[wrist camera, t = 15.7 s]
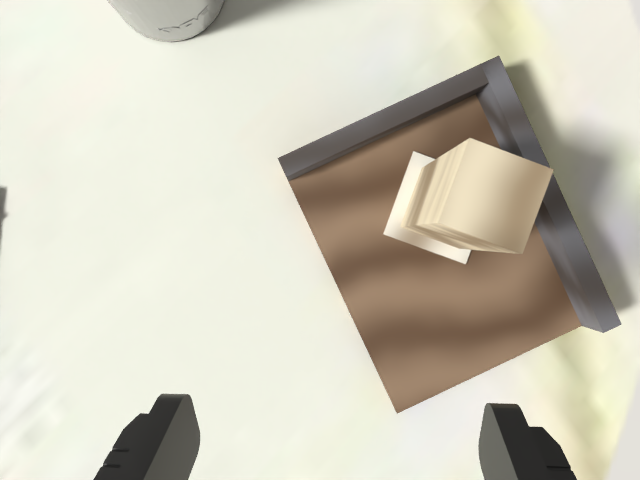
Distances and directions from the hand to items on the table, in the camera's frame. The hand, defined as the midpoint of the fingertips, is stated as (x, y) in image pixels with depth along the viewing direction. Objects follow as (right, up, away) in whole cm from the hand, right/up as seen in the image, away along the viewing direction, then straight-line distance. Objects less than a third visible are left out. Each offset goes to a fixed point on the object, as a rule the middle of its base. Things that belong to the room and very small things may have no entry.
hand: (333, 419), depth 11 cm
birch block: (+9, +7, +22) cm, 25 cm away
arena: (+9, +5, +23) cm, 25 cm away
